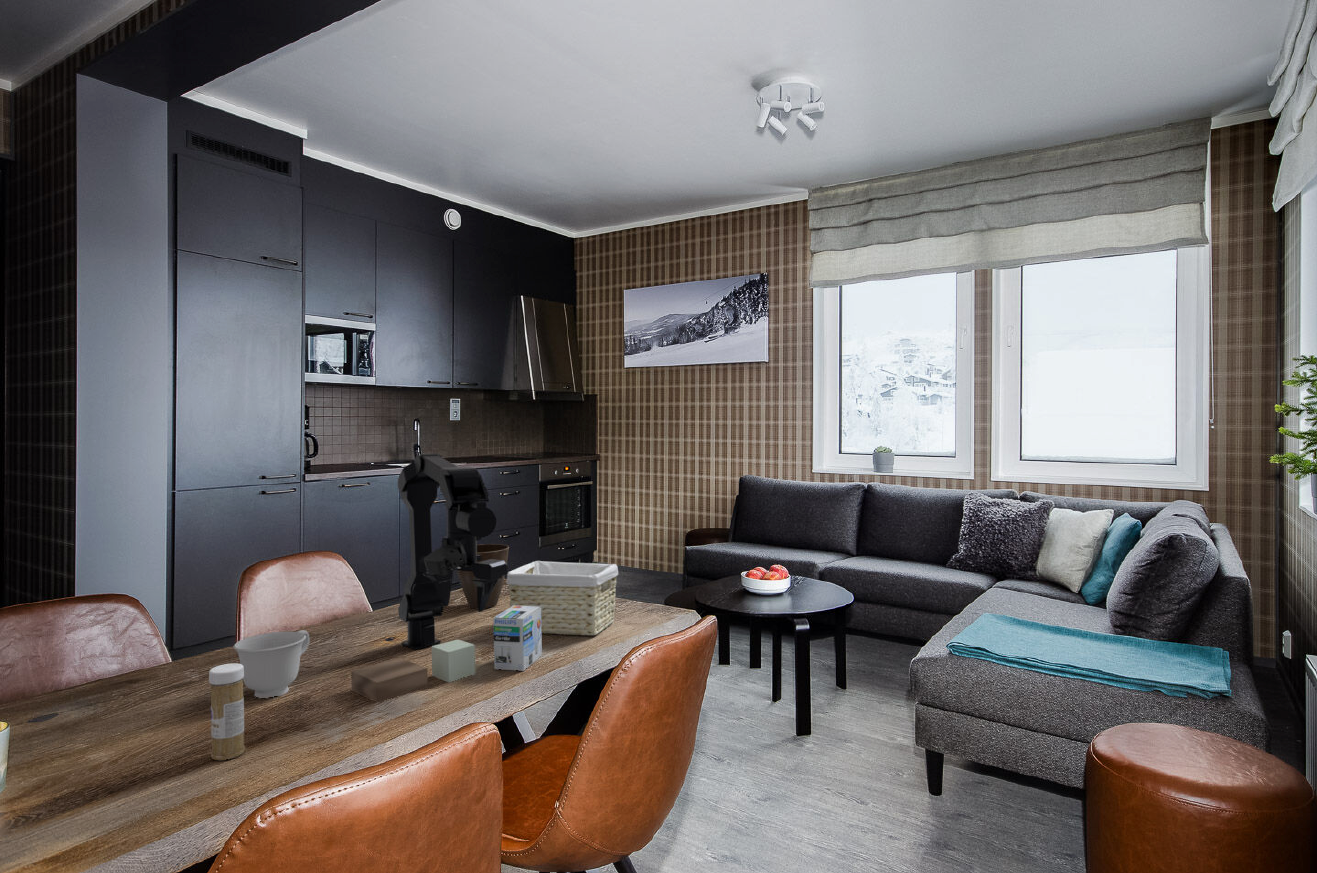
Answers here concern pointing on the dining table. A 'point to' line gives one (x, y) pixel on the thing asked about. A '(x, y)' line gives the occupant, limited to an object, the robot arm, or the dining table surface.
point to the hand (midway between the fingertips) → (463, 608)
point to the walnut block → (389, 679)
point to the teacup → (271, 660)
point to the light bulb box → (517, 637)
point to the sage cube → (453, 660)
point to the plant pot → (466, 578)
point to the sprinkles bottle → (227, 711)
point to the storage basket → (566, 595)
